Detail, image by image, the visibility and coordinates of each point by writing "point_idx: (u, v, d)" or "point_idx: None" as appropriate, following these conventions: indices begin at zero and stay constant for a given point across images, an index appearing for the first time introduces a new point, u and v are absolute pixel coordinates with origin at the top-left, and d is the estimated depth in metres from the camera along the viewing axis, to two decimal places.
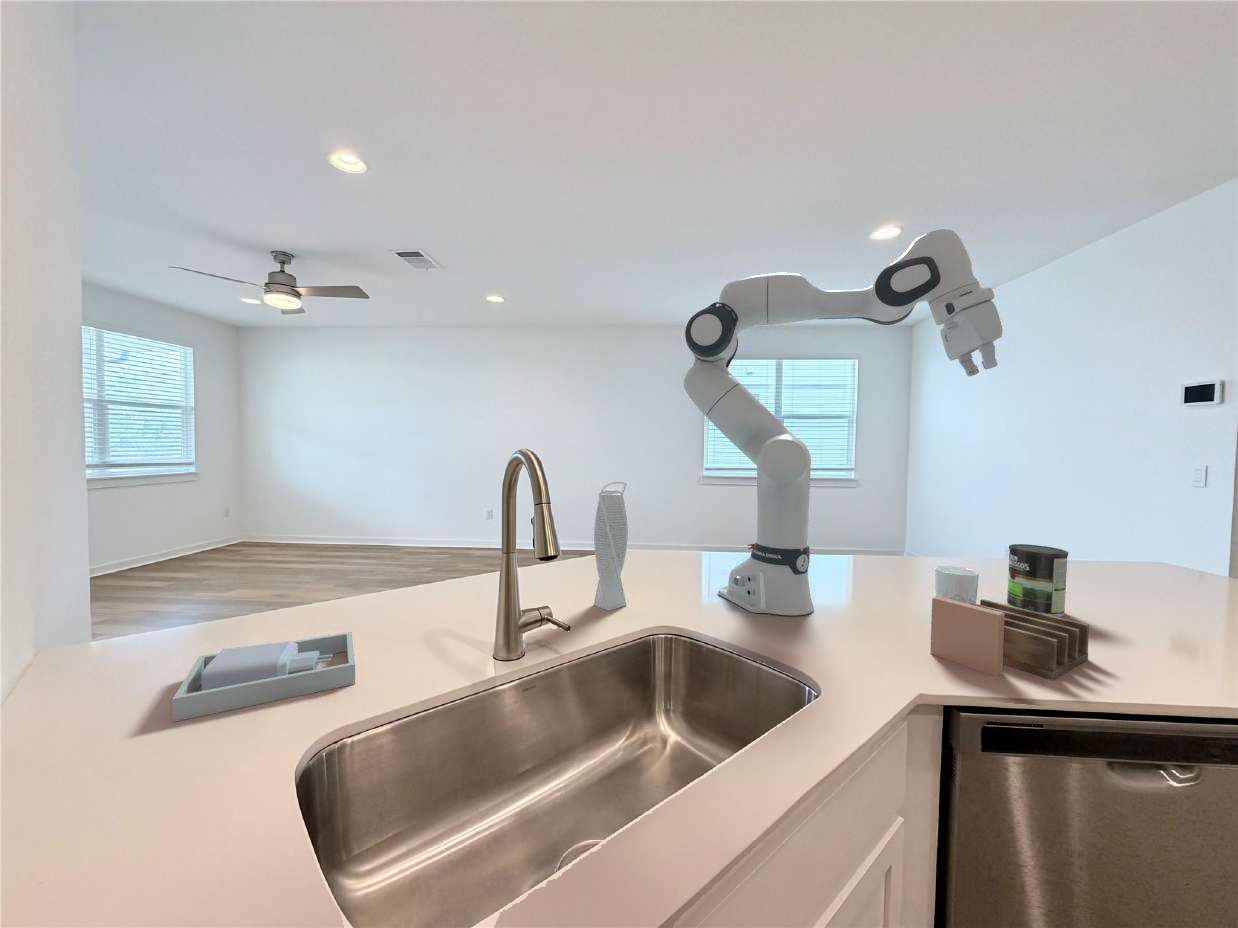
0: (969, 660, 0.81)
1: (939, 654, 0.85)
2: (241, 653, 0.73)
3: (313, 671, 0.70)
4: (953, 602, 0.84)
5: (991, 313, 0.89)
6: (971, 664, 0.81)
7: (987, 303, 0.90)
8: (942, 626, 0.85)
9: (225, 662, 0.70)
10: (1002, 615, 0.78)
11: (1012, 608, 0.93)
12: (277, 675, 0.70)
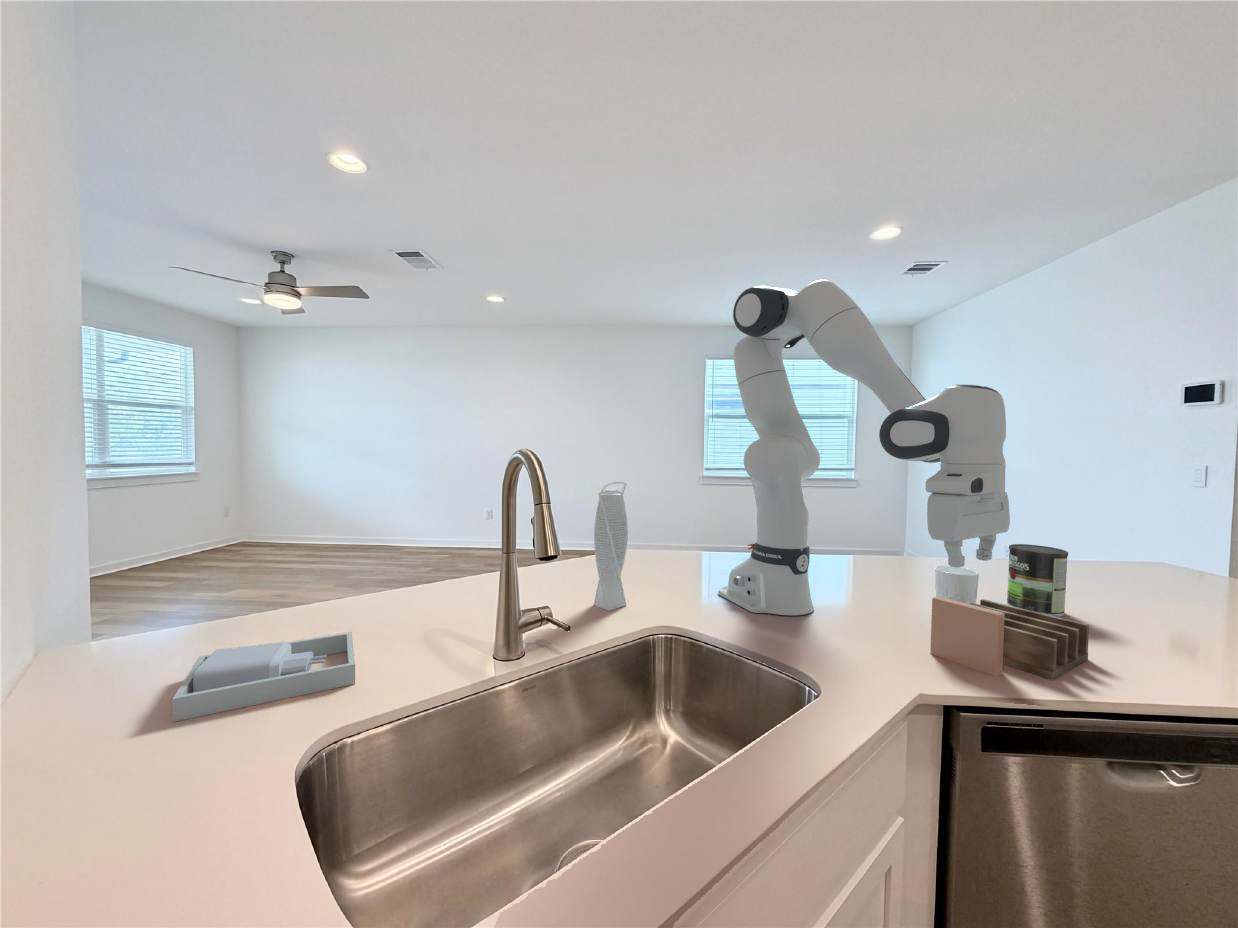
0: (969, 660, 0.81)
1: (939, 654, 0.85)
2: (234, 654, 0.72)
3: (313, 671, 0.70)
4: (953, 602, 0.84)
5: (949, 512, 0.76)
6: (971, 664, 0.81)
7: (954, 498, 0.76)
8: (942, 626, 0.85)
9: (217, 663, 0.69)
10: (1002, 615, 0.78)
11: (1012, 608, 0.93)
12: (269, 676, 0.70)
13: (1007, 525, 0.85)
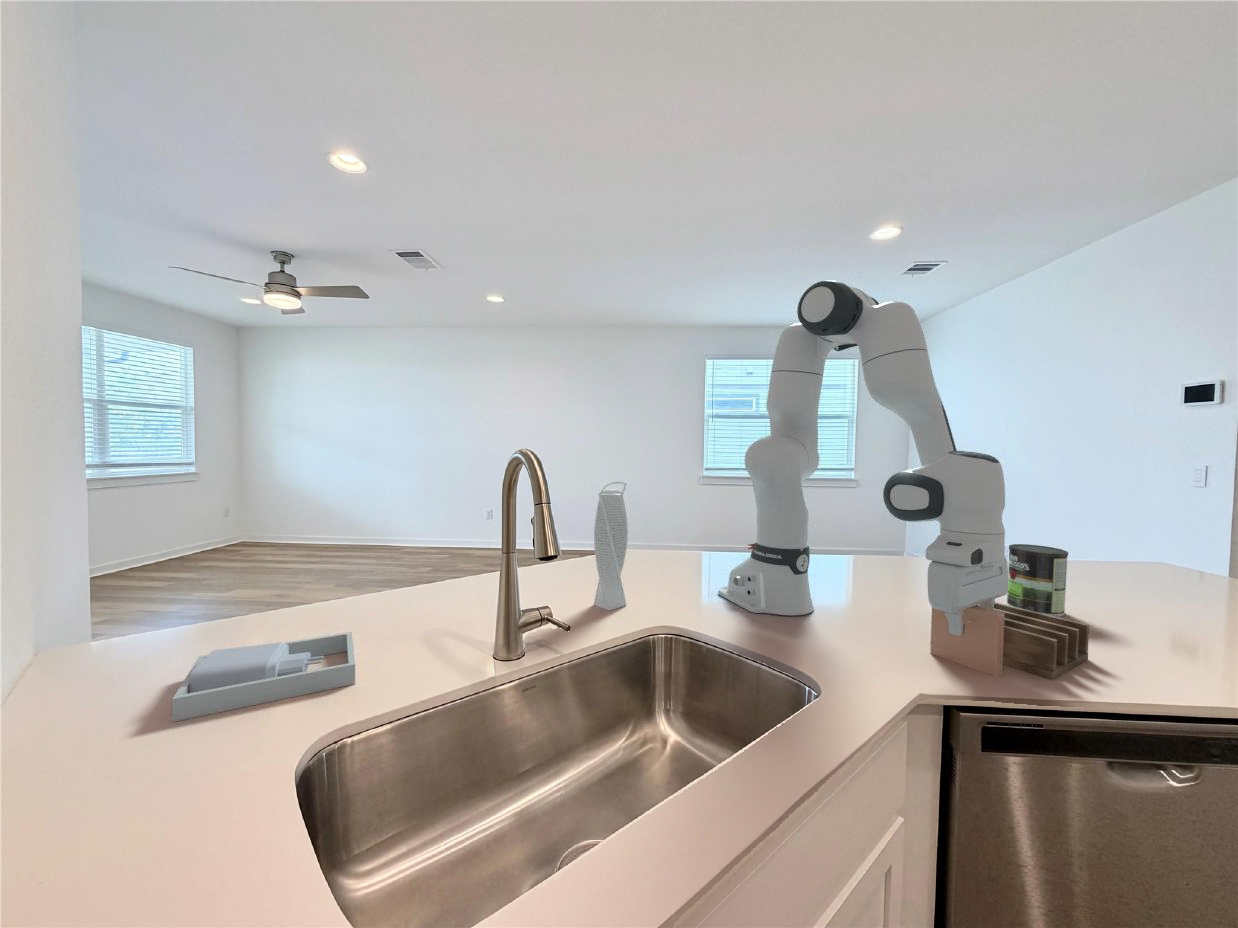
0: (969, 660, 0.81)
1: (939, 654, 0.85)
2: (231, 654, 0.72)
3: (313, 671, 0.70)
4: None
5: (949, 583, 0.76)
6: (971, 664, 0.81)
7: (954, 569, 0.76)
8: (942, 626, 0.85)
9: (214, 664, 0.69)
10: (1002, 615, 0.78)
11: (1012, 608, 0.93)
12: (266, 677, 0.69)
13: (1006, 588, 0.85)
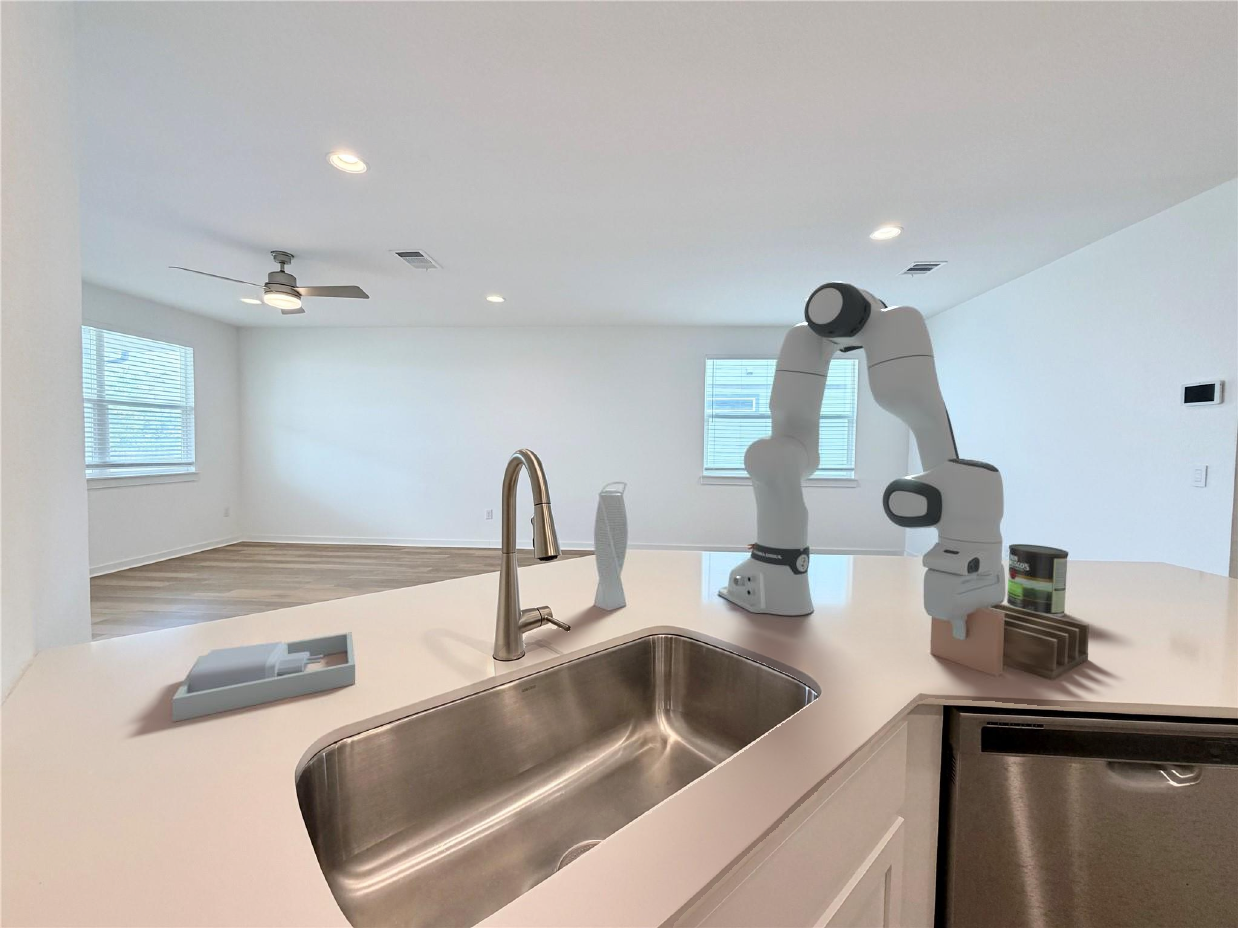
0: (969, 660, 0.81)
1: (939, 654, 0.85)
2: (230, 654, 0.72)
3: (313, 671, 0.70)
4: None
5: (945, 591, 0.76)
6: (971, 664, 0.81)
7: (950, 577, 0.76)
8: (942, 625, 0.85)
9: (213, 663, 0.69)
10: (1002, 615, 0.78)
11: (1012, 608, 0.93)
12: (265, 676, 0.70)
13: (1003, 596, 0.85)
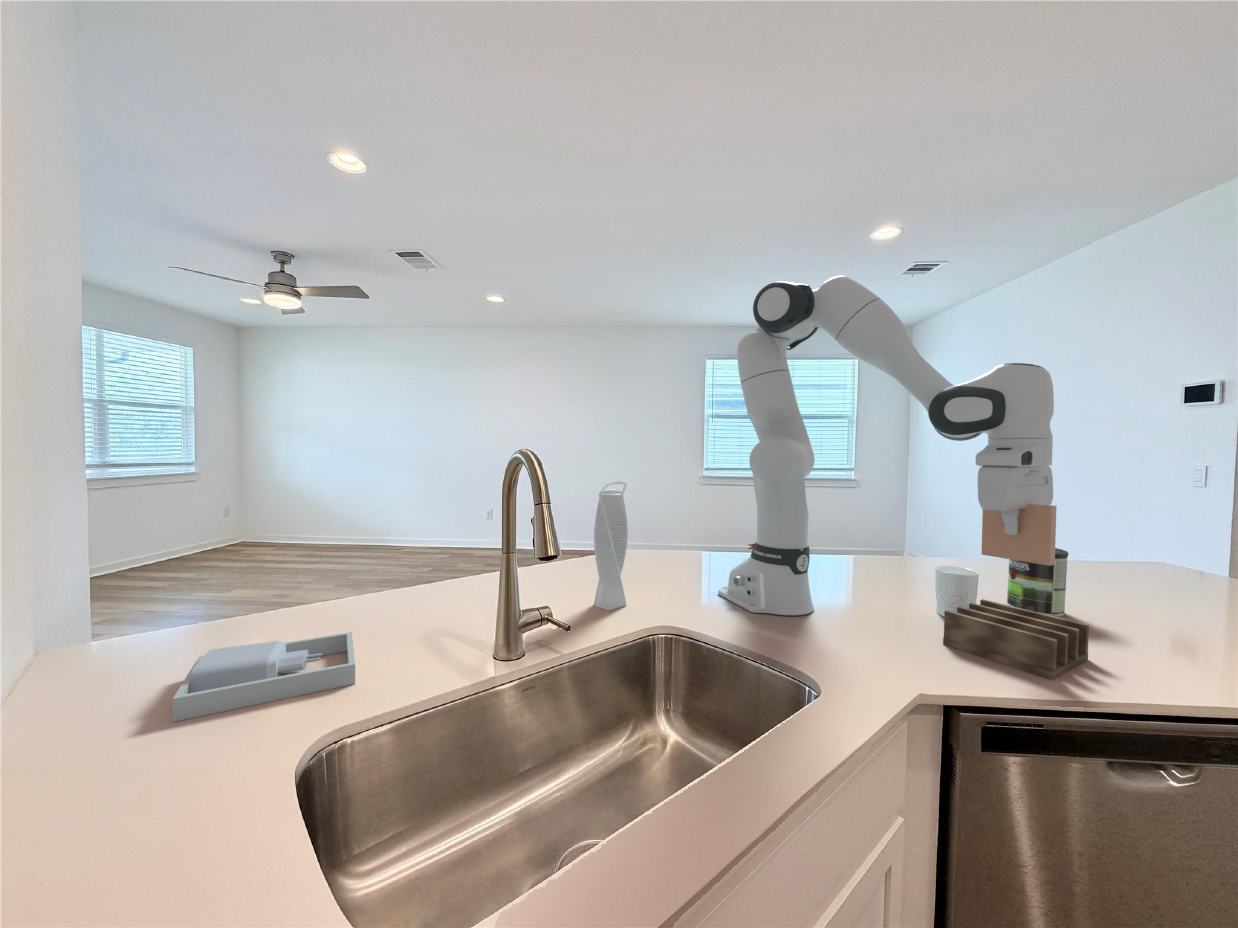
0: (1022, 554, 0.85)
1: (990, 554, 0.89)
2: (229, 653, 0.73)
3: (313, 671, 0.70)
4: None
5: (1000, 482, 0.80)
6: (1024, 558, 0.85)
7: (1005, 470, 0.80)
8: (994, 526, 0.88)
9: (213, 662, 0.70)
10: (1054, 507, 0.82)
11: (1012, 608, 0.93)
12: (267, 674, 0.70)
13: (1051, 498, 0.89)
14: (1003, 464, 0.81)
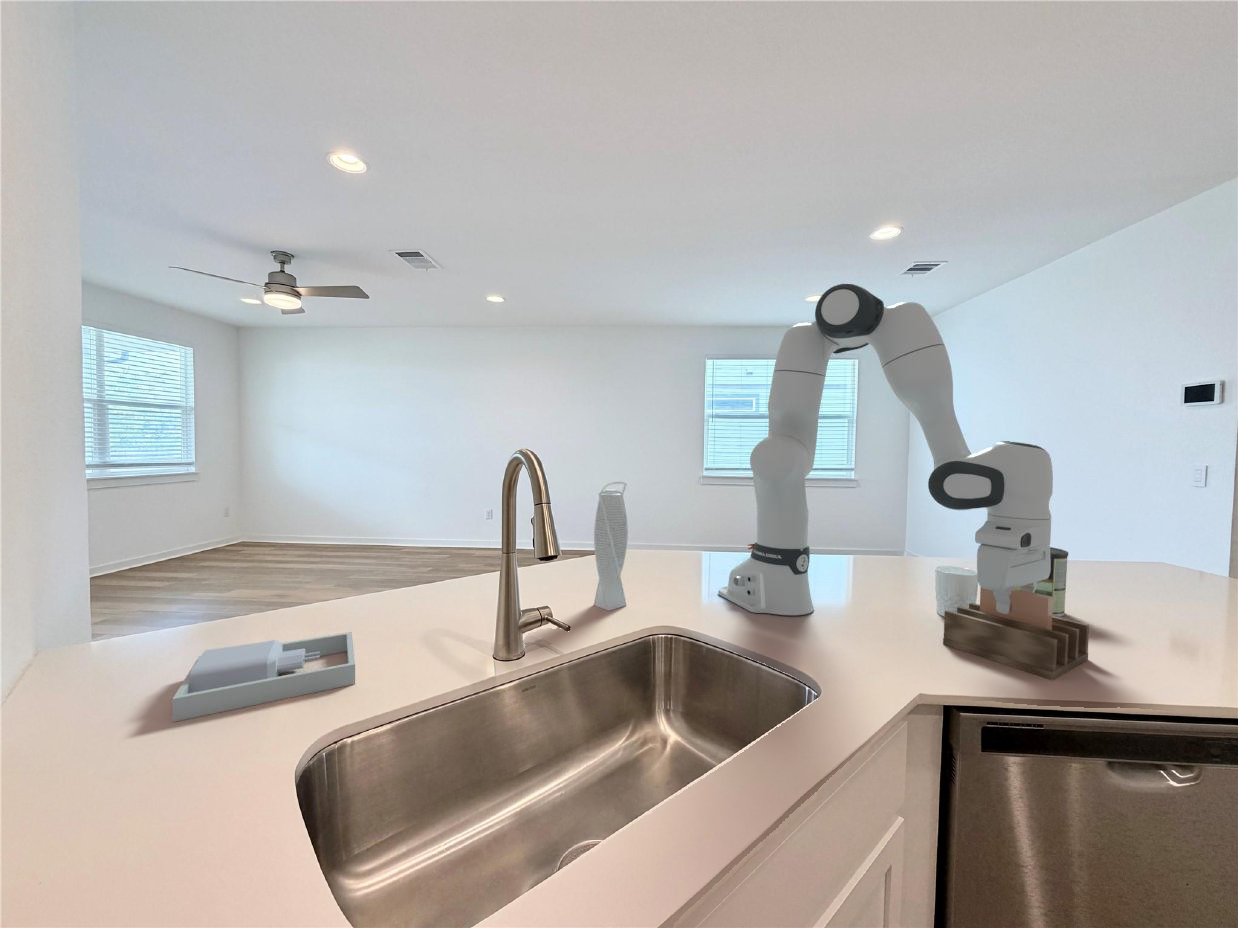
0: None
1: None
2: (226, 653, 0.72)
3: (313, 671, 0.70)
4: None
5: (999, 564, 0.81)
6: None
7: (1004, 551, 0.81)
8: (991, 610, 0.90)
9: (212, 662, 0.69)
10: (1051, 599, 0.83)
11: None
12: (267, 673, 0.71)
13: (1048, 572, 0.90)
14: (1002, 545, 0.82)
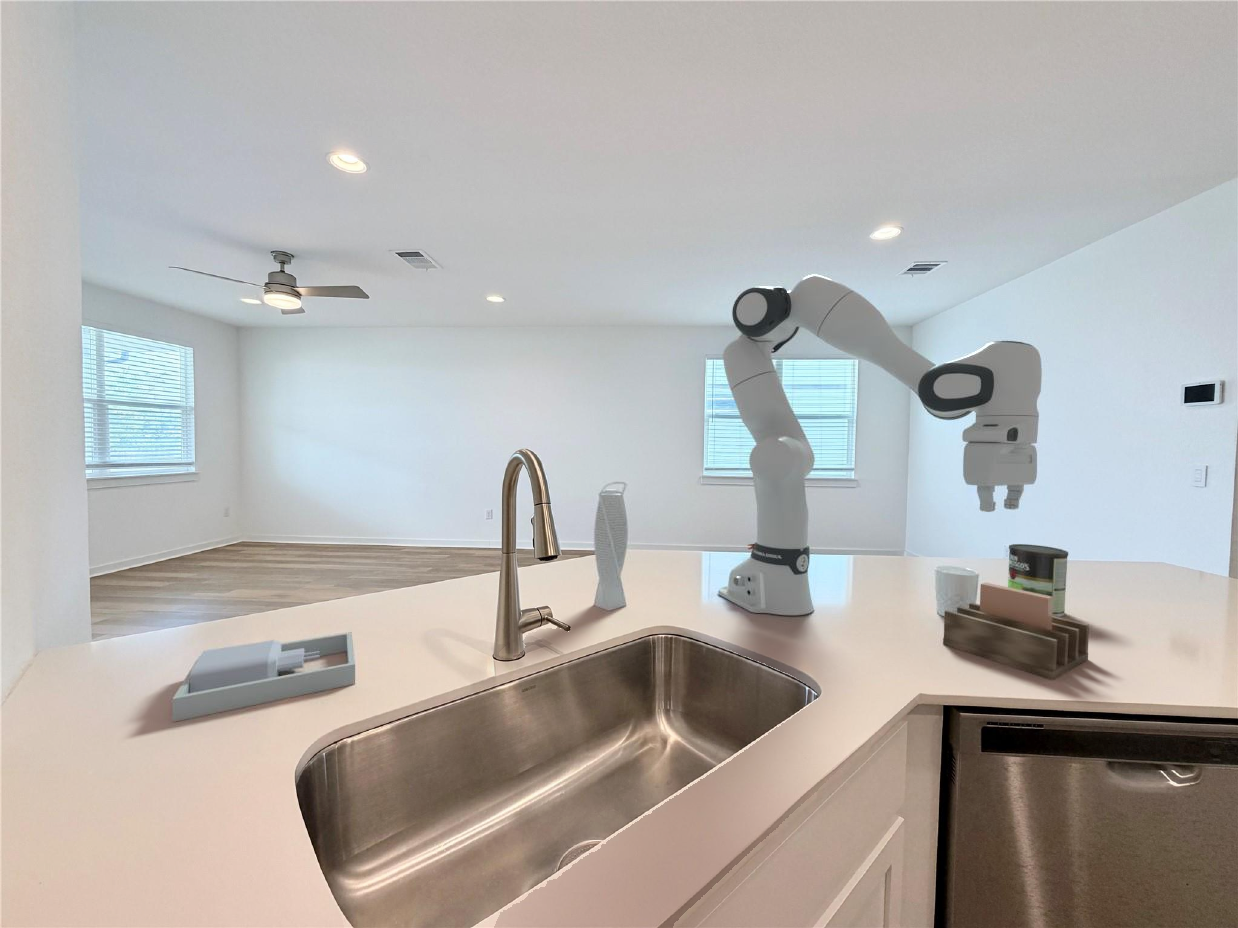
0: None
1: None
2: (226, 653, 0.72)
3: (313, 671, 0.70)
4: (1002, 587, 0.89)
5: (985, 458, 0.81)
6: None
7: (990, 445, 0.81)
8: (991, 610, 0.90)
9: (212, 662, 0.69)
10: (1051, 599, 0.83)
11: None
12: (268, 672, 0.71)
13: (1034, 477, 0.90)
14: (989, 440, 0.82)
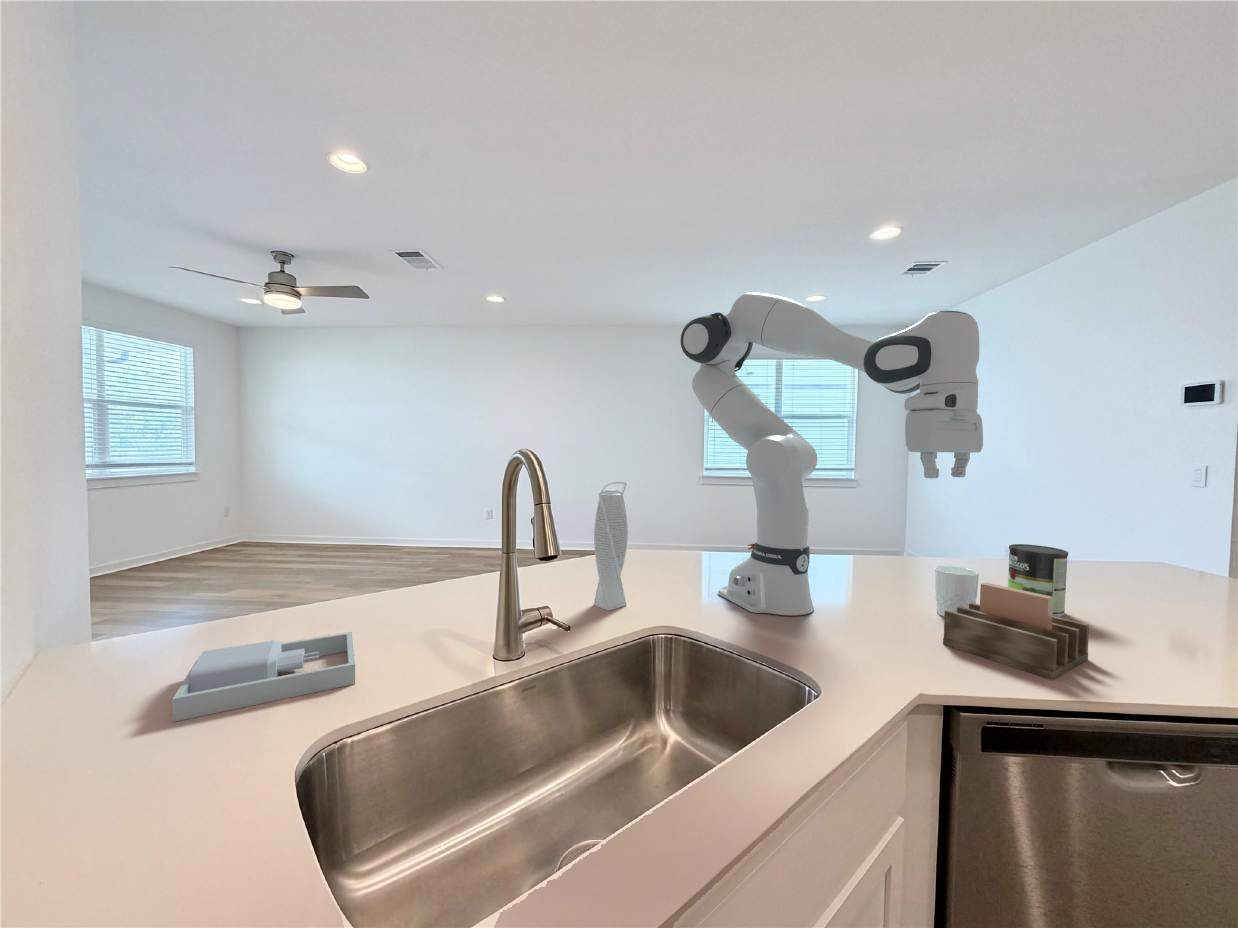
0: None
1: None
2: (225, 653, 0.72)
3: (313, 671, 0.70)
4: (1002, 587, 0.89)
5: (924, 424, 0.83)
6: None
7: (929, 412, 0.83)
8: (991, 610, 0.90)
9: (211, 663, 0.69)
10: (1051, 599, 0.83)
11: None
12: (267, 673, 0.71)
13: (980, 445, 0.91)
14: (928, 407, 0.83)
